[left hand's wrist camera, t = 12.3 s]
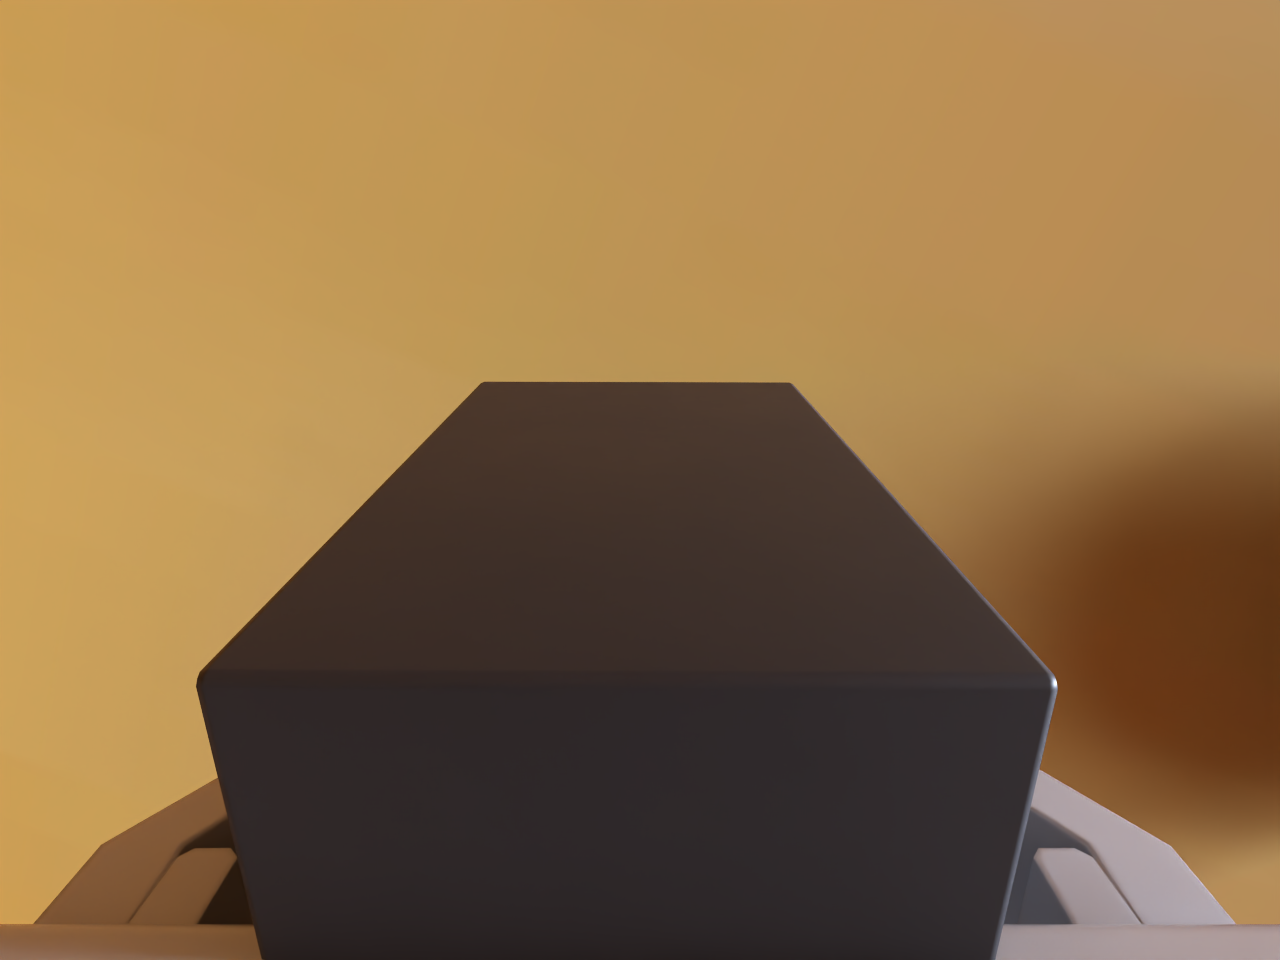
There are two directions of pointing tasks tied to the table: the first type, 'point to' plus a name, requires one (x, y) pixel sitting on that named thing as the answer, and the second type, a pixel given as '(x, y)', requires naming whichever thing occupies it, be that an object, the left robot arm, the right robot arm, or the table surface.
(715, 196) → the table surface
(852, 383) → the table surface
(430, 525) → the bar
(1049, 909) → the left robot arm
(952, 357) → the table surface
